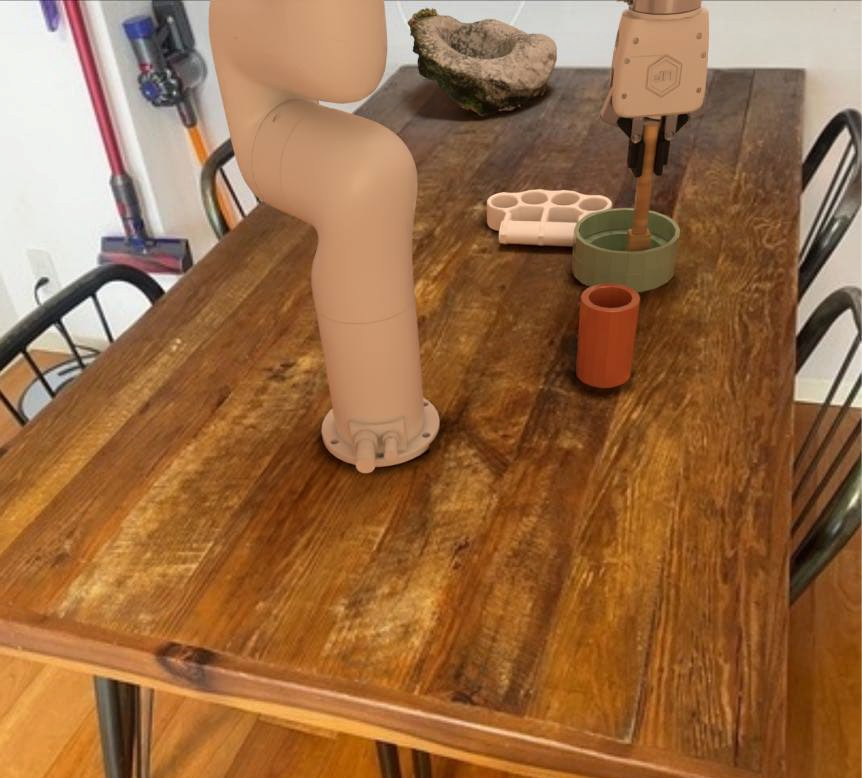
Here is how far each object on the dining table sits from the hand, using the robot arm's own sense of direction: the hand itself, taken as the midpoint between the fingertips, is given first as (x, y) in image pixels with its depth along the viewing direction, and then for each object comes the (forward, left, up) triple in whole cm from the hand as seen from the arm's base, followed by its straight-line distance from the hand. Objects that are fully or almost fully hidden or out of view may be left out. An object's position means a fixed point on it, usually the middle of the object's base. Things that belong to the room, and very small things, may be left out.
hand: (646, 171), depth 103 cm
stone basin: (+78, +13, -14) cm, 80 cm away
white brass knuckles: (+16, +9, -14) cm, 23 cm away
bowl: (+1, +1, -14) cm, 14 cm away
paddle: (0, 0, -12) cm, 12 cm away
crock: (-23, +8, -14) cm, 28 cm away
